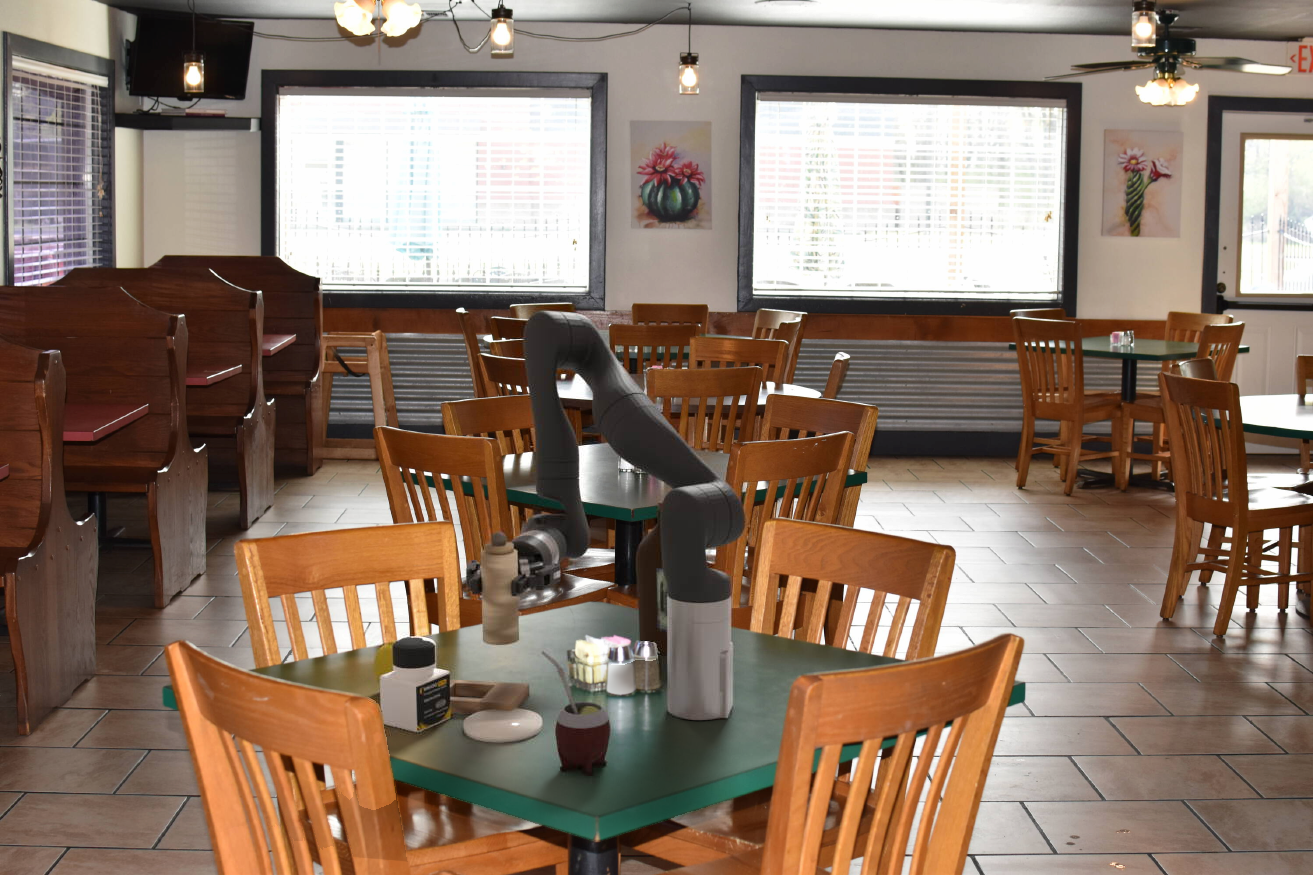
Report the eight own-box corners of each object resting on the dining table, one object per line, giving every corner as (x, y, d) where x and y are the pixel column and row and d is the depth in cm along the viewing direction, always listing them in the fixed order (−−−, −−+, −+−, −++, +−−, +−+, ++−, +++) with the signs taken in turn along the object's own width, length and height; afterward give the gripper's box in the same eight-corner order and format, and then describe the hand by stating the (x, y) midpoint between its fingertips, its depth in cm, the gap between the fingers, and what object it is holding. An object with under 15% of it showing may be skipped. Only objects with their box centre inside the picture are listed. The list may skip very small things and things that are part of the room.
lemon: (403, 699, 198) (401, 647, 197) (368, 696, 199) (367, 645, 198) (417, 687, 203) (415, 636, 202) (383, 685, 204) (381, 634, 203)
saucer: (551, 716, 190) (551, 710, 190) (530, 744, 179) (529, 737, 179) (477, 712, 192) (477, 705, 192) (452, 739, 181) (452, 732, 181)
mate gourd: (617, 773, 169) (616, 660, 167) (558, 782, 167) (556, 667, 164) (599, 753, 176) (598, 644, 174) (542, 761, 174) (540, 650, 171)
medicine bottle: (418, 733, 184) (415, 650, 182) (380, 724, 187) (377, 642, 186) (452, 718, 190) (449, 637, 188) (414, 709, 193) (412, 630, 192)
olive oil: (626, 642, 226) (625, 498, 223) (683, 635, 231) (683, 493, 227) (650, 659, 217) (650, 509, 213) (709, 651, 221) (709, 504, 217)
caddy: (529, 696, 199) (529, 683, 198) (512, 717, 190) (512, 703, 190) (446, 691, 201) (446, 678, 201) (426, 711, 192) (425, 698, 192)
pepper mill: (523, 635, 186) (521, 528, 184) (513, 645, 181) (510, 536, 179) (489, 633, 187) (486, 527, 185) (478, 643, 182) (475, 535, 180)
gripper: (481, 533, 198) (443, 559, 181) (575, 536, 195) (544, 563, 178) (483, 581, 199) (444, 612, 182) (575, 586, 196) (545, 617, 179)
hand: (494, 588), depth 180 cm, fingers closed on pepper mill, 5 cm apart
